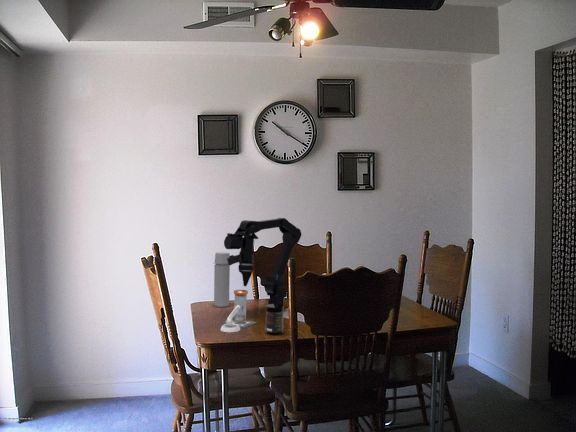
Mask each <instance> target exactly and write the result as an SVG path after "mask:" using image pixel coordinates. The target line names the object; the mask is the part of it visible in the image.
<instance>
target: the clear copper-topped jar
mask: <svg viewBox="0 0 576 432" xmlns="http://www.w3.org/2000/svg"><path fill="white" fill-rule="evenodd" d="M248 292H249V291H248V290H246V289H235V290H233V294H234V306H233V310H234V309H235V307H236V306H237V305H239V306H240V309H239V310H238V312H237V313H236V314H235V316H234V317H233V320H234V323H235V324H245V323H246V321H247V300H248V299H247V297H248V296H247V295H248V294H249V293H248Z"/></svg>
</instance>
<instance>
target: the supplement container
mask: <svg viewBox="0 0 576 432" xmlns="http://www.w3.org/2000/svg"><path fill="white" fill-rule="evenodd" d="M283 307H284V304H283V305H280V304H266V305H265V333H266V334H267V335H273V336H277V335H281V334H283V333H284V311H283Z"/></svg>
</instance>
